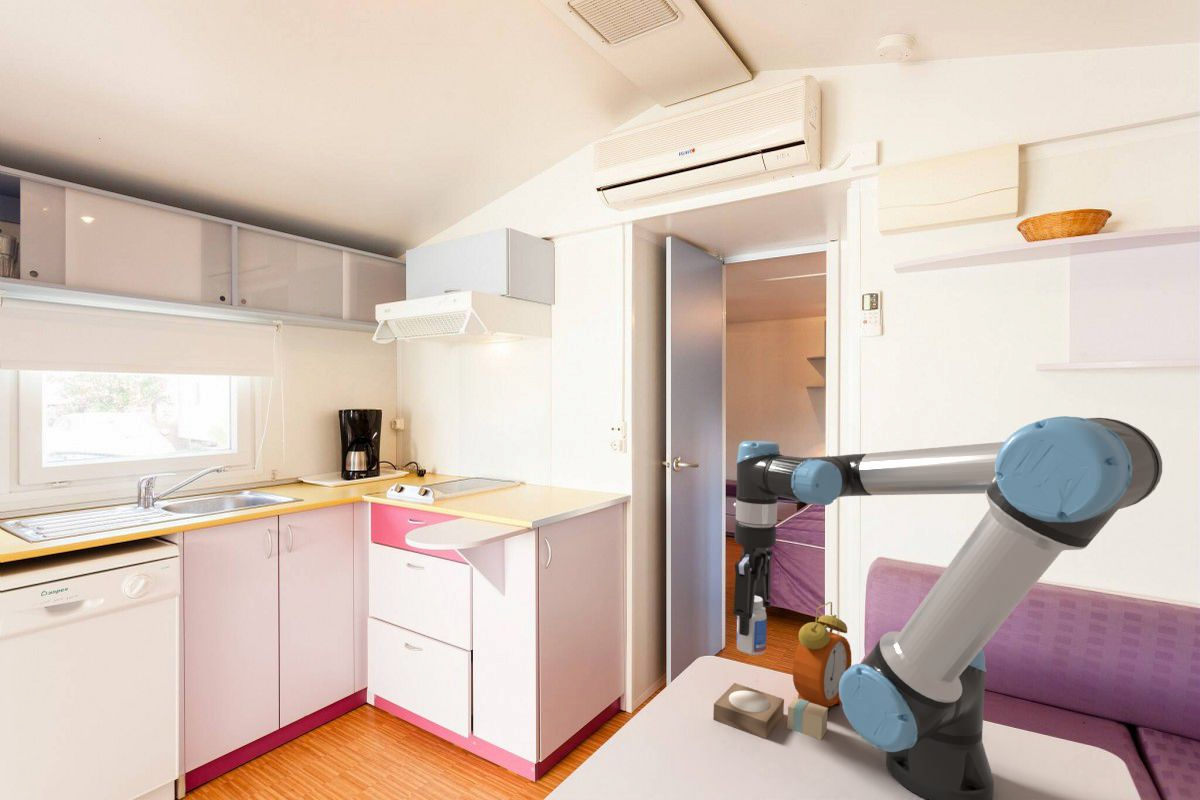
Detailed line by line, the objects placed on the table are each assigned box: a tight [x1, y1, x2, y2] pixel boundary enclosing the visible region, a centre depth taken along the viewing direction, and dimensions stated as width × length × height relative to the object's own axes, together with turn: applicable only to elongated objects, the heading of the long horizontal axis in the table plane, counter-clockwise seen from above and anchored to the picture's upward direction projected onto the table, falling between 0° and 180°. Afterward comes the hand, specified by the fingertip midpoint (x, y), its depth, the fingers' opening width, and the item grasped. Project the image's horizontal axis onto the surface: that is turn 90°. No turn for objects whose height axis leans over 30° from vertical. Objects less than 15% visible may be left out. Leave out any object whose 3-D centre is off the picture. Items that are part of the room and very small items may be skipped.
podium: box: [712, 682, 785, 739], centre depth 112 cm, size 10×10×3 cm
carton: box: [787, 697, 829, 740], centre depth 109 cm, size 6×4×4 cm
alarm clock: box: [792, 601, 852, 709], centre depth 117 cm, size 13×6×20 cm, turn 133°
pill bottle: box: [736, 595, 768, 656], centre depth 112 cm, size 6×5×10 cm
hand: (751, 645), depth 112 cm, fingers closed on pill bottle, 5 cm apart
